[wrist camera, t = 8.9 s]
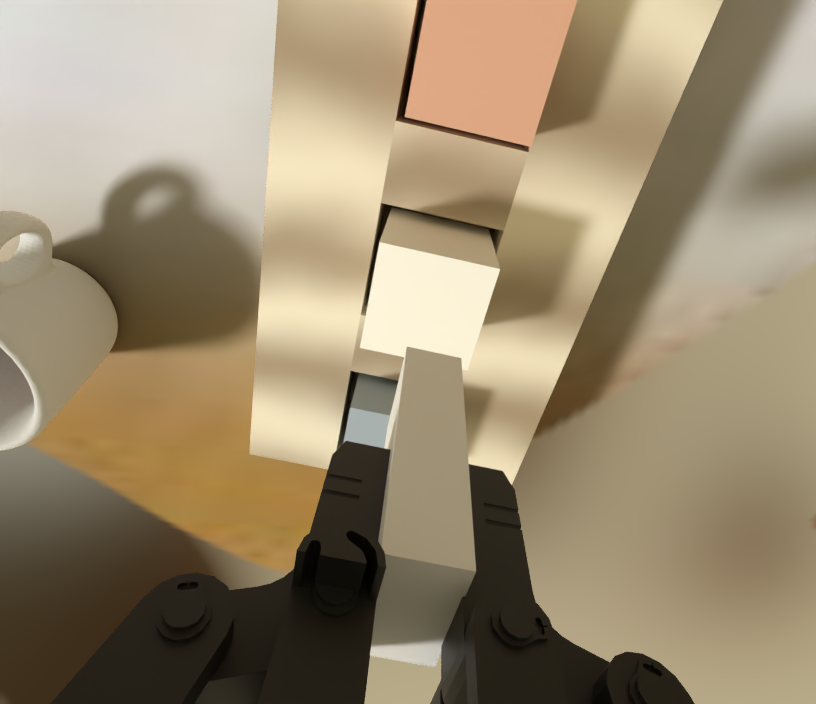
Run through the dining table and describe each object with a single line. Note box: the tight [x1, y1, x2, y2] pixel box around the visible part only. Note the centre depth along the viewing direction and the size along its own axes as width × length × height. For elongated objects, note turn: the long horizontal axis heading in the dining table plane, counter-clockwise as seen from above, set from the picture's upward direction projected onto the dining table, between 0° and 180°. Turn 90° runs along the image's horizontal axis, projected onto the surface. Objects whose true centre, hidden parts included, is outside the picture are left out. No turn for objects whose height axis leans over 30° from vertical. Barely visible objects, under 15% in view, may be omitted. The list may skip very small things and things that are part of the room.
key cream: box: [360, 207, 500, 371], centre depth 20 cm, size 4×4×5 cm
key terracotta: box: [405, 0, 577, 147], centre depth 17 cm, size 4×4×5 cm
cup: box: [0, 211, 118, 450], centre depth 24 cm, size 11×8×8 cm
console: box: [249, 0, 723, 485], centre depth 23 cm, size 24×14×5 cm, turn 168°
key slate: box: [343, 373, 398, 448], centre depth 25 cm, size 4×4×5 cm
